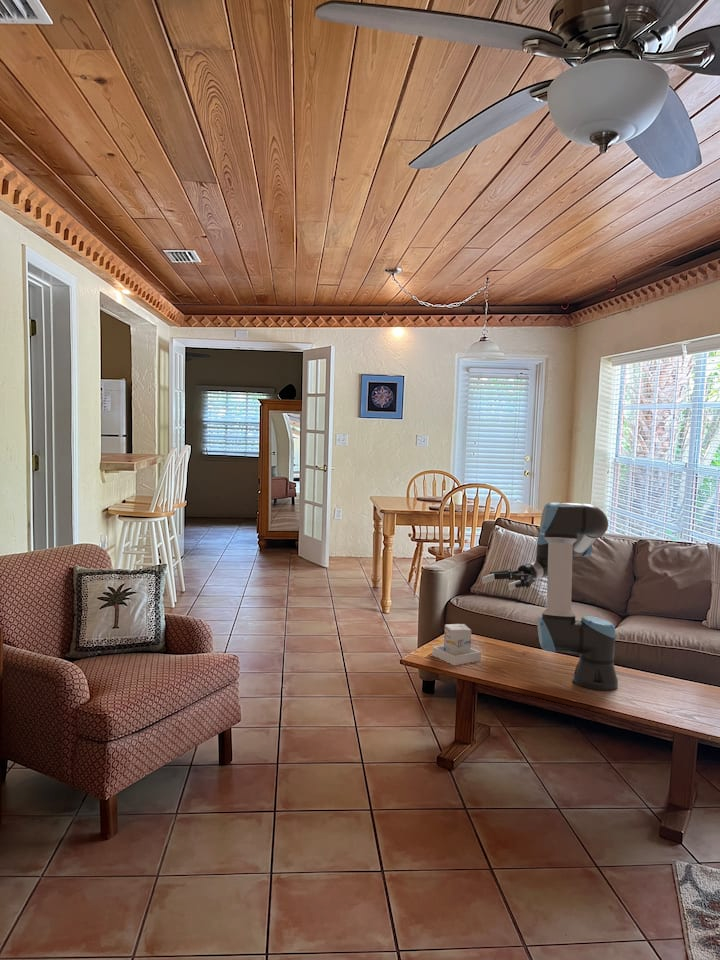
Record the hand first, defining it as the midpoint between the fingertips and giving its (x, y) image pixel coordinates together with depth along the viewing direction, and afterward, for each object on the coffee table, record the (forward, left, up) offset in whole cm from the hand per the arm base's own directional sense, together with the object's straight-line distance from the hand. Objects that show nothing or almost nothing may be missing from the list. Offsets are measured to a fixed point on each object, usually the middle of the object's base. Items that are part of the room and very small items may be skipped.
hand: (495, 583), depth 263 cm
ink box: (+3, +16, -28) cm, 33 cm away
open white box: (+3, +16, -29) cm, 33 cm away
